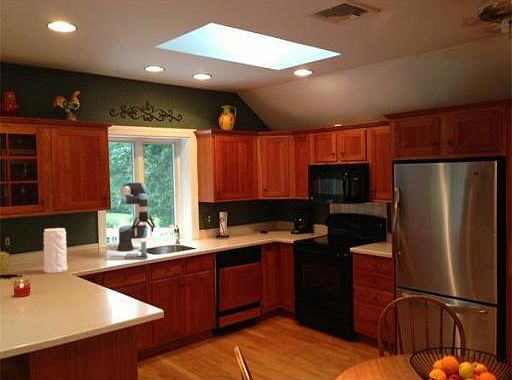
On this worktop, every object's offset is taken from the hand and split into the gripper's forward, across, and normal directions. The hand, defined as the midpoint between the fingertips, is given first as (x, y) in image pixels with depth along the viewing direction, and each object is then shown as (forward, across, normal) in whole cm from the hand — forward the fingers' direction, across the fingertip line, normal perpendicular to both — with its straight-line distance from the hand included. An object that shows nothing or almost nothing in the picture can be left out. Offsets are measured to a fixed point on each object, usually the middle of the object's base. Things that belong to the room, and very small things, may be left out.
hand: (143, 235), depth 392 cm
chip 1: (+18, -10, -11) cm, 23 cm away
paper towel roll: (+20, -55, -51) cm, 77 cm away
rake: (+20, 0, 0) cm, 20 cm away
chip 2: (+18, -5, -11) cm, 22 cm away
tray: (+20, -21, -11) cm, 30 cm away
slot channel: (+20, -4, -11) cm, 23 cm away
